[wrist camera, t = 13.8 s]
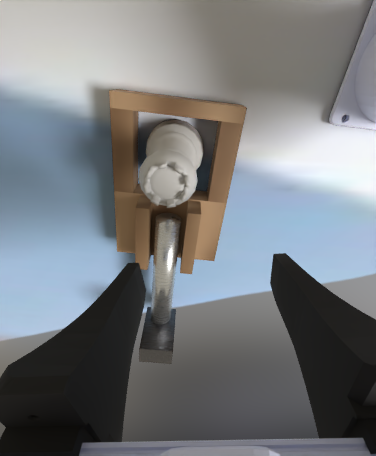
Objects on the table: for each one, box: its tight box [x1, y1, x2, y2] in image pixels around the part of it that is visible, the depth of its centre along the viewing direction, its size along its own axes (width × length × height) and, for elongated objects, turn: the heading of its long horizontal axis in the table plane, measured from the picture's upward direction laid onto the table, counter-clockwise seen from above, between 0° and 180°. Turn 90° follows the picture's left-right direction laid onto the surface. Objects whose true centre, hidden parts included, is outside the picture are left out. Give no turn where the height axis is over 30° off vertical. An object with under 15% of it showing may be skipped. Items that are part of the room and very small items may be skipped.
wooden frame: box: [109, 89, 247, 274], centre depth 19 cm, size 9×13×4 cm
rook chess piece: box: [138, 119, 204, 208], centre depth 16 cm, size 4×4×8 cm
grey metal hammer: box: [139, 213, 181, 364], centre depth 22 cm, size 3×14×5 cm, turn 174°
